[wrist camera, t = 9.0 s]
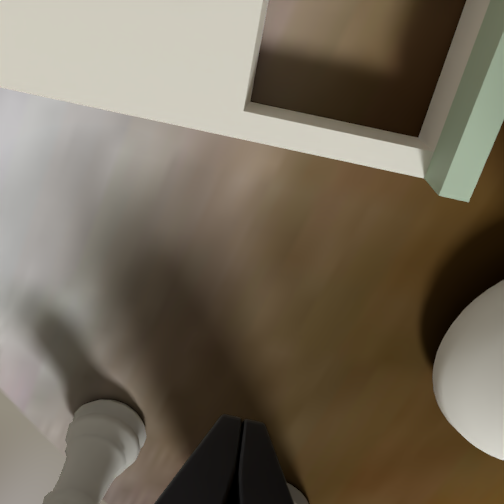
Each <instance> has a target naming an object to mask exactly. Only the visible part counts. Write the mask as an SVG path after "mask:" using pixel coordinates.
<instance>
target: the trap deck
mask: <svg viewBox="0 0 504 504" xmlns="http://www.w3.org/2000/svg"><path fill="white" fill-rule="evenodd" d="M268 2H269V0H0V87H1V88H6V89H10V90H15V91H20V92H24V93H29V94H34V95H38V96H43V97H47V98H52V99H57V100H61V101H66V102H71V103H75V104H80V105H85V106H89V107H94V108H99V109H103V110H108V111H113V112H117V113H122V114H127V115H131V116H136V117H141V118H145V119H150V120H155V121H159V122H164V123H169V124H173V125H178V126H183V127H187V128H192V129H197V130H201V131H206V132H211V133H215V134H220V135H225V136H229V137H234V138H238V139H243V140H248V141H252V142H257V143H262V144H266V145H271V146H276V147H280V148H285V149H290V150H294V151H299V152H304V153H308V154H313V155H318V156H322V157H327V158H332V159H336V160H341V161H346V162H350V163H355V164H360V165H364V166H369V167H374V168H378V169H383V170H388V171H392V172H397V173H402V174H406V175H411V176H415V177H420V178H424V179H425V180H426V181H427V182H428V183H429V185H430V186H431V187H432V188H433V189H434V191H435V192H436V193H437V194H438V195H439V196H443V197H447V198H452V199H457V200H461V201H466V202H469V200H470V198H471V195H472V193H473V191H474V188H475V186H476V184H477V181H478V179H479V177H480V174H481V172H482V169H483V167H484V165H485V162H486V160H487V158H488V155H489V153H490V151H491V148H492V146H493V144H494V141H495V139H496V137H497V134H498V132H499V130H500V127H501V125H502V123H503V120H504V0H466V3H465V6H464V8H463V11H462V14H461V17H460V20H459V23H458V26H457V28H456V31H455V34H454V37H453V40H452V43H451V45H450V48H449V51H448V54H447V57H446V60H445V63H444V65H443V68H442V71H441V74H440V77H439V80H438V83H437V85H436V88H435V91H434V94H433V97H432V100H431V102H430V105H429V108H428V111H427V114H426V117H425V120H424V122H423V125H422V128H421V131H420V134H419V137H413V136H408V135H404V134H399V133H394V132H390V131H385V130H380V129H376V128H371V127H366V126H362V125H357V124H352V123H348V122H343V121H338V120H334V119H329V118H324V117H320V116H315V115H310V114H306V113H301V112H296V111H292V110H287V109H282V108H278V107H273V106H268V105H264V104H259V103H254V102H250V101H251V95H252V90H253V84H254V79H255V73H256V68H257V62H258V57H259V51H260V46H261V40H262V35H263V29H264V24H265V18H266V13H267V7H268Z"/></svg>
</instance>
